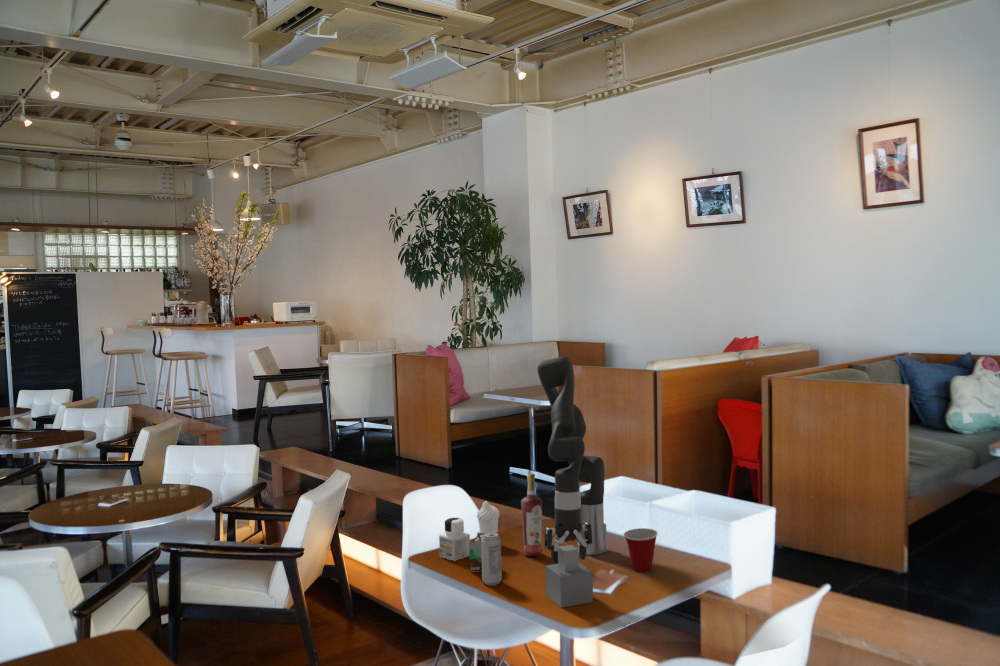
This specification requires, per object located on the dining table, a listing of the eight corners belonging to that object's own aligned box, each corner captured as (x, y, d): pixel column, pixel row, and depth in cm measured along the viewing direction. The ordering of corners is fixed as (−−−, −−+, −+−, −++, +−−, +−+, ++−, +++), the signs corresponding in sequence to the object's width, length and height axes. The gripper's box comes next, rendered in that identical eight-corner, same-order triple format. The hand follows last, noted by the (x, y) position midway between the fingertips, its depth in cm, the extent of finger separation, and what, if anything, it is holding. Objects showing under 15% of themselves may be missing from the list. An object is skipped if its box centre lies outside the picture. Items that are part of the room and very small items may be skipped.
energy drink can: (495, 577, 231) (493, 530, 231) (505, 583, 226) (504, 535, 226) (478, 581, 228) (477, 534, 228) (488, 587, 223) (487, 538, 222)
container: (439, 557, 253) (438, 519, 253) (455, 551, 258) (454, 514, 258) (454, 561, 248) (453, 523, 247) (470, 555, 253) (469, 518, 253)
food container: (488, 574, 234) (487, 543, 234) (469, 573, 235) (468, 543, 235) (496, 562, 246) (495, 532, 246) (478, 561, 247) (477, 531, 247)
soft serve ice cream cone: (498, 540, 270) (497, 497, 269) (502, 547, 261) (501, 503, 261) (475, 542, 268) (474, 499, 268) (479, 549, 260) (478, 504, 260)
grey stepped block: (577, 589, 219) (575, 540, 219) (593, 601, 210) (592, 550, 209) (546, 595, 215) (544, 545, 215) (561, 607, 206) (559, 555, 206)
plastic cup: (619, 565, 240) (618, 529, 239) (650, 562, 242) (649, 526, 242) (631, 576, 229) (631, 538, 229) (664, 573, 231) (663, 535, 231)
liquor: (529, 559, 247) (527, 477, 247) (518, 554, 254) (516, 473, 253) (547, 555, 251) (545, 474, 251) (535, 550, 258) (533, 471, 257)
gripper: (583, 499, 218) (584, 554, 218) (539, 505, 213) (541, 560, 213) (595, 505, 211) (596, 561, 211) (550, 511, 205) (552, 568, 206)
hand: (568, 561), depth 212 cm, fingers open, 8 cm apart
